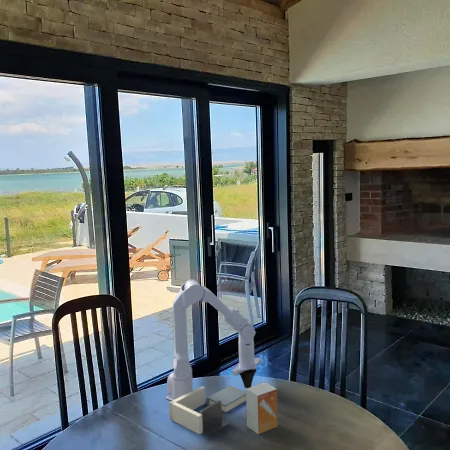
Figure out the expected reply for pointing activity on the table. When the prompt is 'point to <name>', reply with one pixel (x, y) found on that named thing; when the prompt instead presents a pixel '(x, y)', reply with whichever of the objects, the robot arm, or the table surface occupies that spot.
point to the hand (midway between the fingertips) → (247, 387)
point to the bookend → (212, 418)
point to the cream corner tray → (188, 410)
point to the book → (228, 398)
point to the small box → (261, 407)
